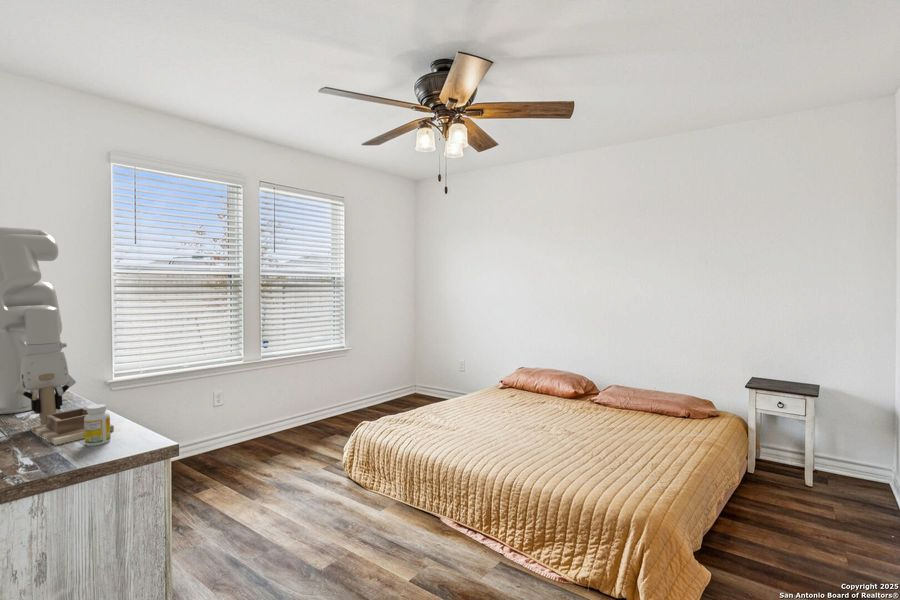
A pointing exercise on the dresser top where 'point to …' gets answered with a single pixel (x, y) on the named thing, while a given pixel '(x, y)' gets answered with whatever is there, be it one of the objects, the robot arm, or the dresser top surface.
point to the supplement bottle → (97, 425)
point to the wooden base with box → (64, 426)
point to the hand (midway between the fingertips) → (47, 410)
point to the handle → (46, 399)
